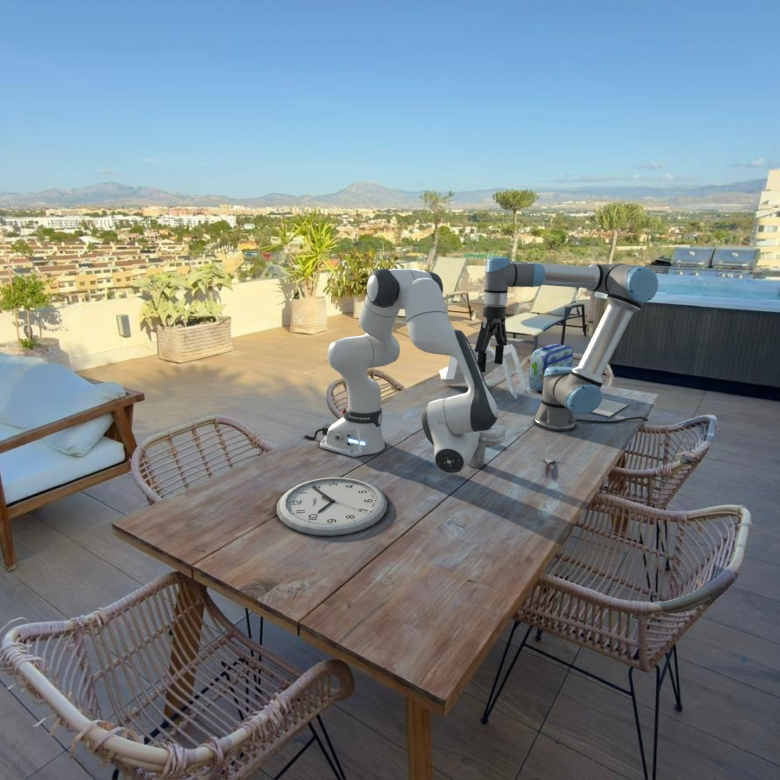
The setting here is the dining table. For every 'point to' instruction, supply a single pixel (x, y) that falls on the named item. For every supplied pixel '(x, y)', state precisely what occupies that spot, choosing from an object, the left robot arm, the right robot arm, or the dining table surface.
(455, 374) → the white plastic object
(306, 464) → the dining table surface
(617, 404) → the invitation card
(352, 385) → the left robot arm
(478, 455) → the grey cylinder
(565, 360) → the lunch box
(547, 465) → the fork
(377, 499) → the wall clock
